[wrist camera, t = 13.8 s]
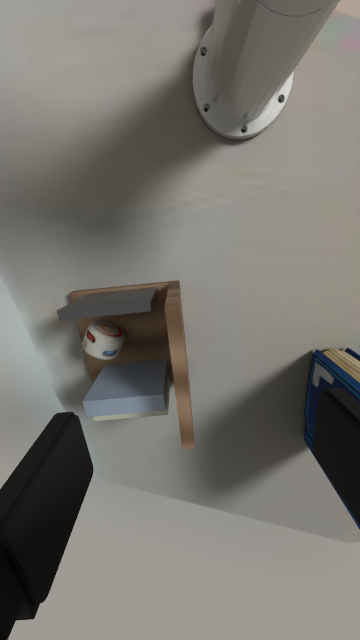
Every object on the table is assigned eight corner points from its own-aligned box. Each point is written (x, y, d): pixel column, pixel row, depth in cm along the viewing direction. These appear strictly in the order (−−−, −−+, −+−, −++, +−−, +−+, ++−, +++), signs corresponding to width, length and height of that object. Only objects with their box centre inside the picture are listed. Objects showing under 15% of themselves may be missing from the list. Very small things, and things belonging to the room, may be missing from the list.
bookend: (88, 293, 36) (57, 310, 27) (157, 286, 36) (149, 301, 27) (90, 300, 37) (59, 320, 27) (158, 294, 36) (151, 311, 27)
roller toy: (121, 352, 40) (112, 369, 34) (86, 337, 39) (71, 352, 33) (131, 330, 38) (123, 344, 33) (95, 314, 37) (80, 326, 32)
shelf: (73, 291, 38) (2, 322, 22) (179, 280, 37) (179, 304, 22) (96, 384, 43) (52, 460, 28) (188, 376, 43) (194, 448, 28)
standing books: (104, 364, 40) (82, 401, 31) (166, 358, 40) (163, 394, 31) (110, 387, 42) (90, 429, 32) (169, 382, 41) (167, 422, 32)
